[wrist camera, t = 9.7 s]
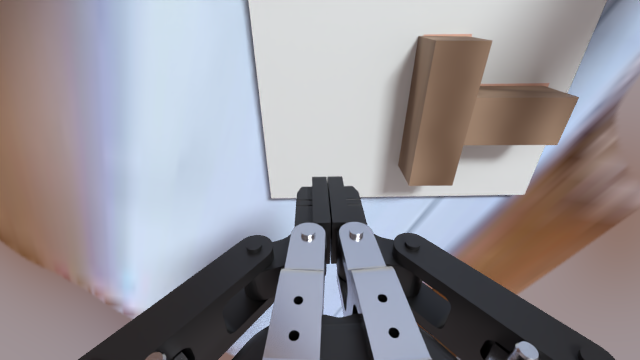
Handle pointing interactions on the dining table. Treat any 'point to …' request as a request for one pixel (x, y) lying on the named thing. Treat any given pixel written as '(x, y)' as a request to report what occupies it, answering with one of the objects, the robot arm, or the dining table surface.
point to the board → (397, 84)
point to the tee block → (469, 110)
